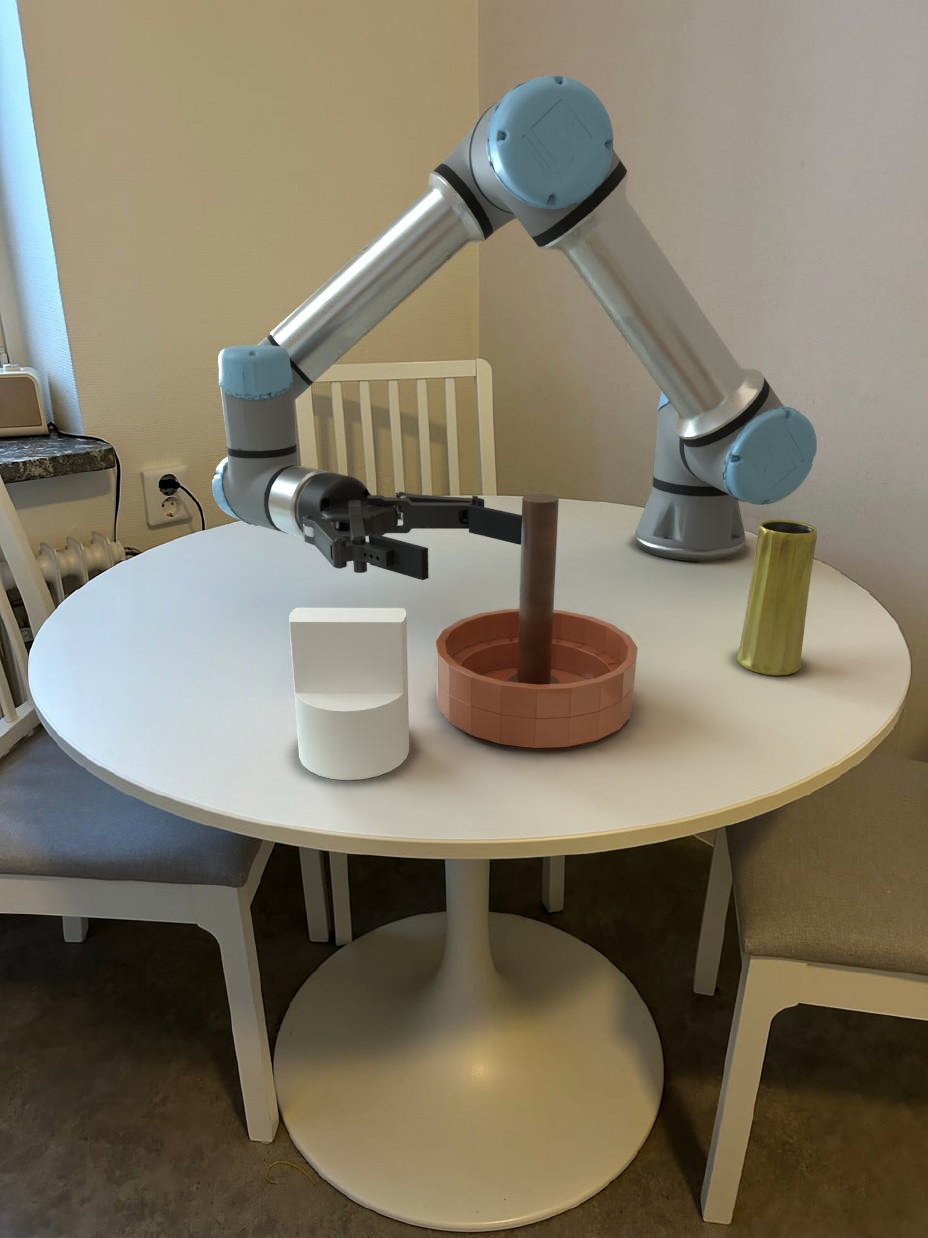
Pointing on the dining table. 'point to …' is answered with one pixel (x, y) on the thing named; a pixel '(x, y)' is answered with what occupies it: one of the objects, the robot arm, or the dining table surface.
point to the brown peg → (537, 589)
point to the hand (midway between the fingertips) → (477, 546)
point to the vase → (778, 598)
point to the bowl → (528, 713)
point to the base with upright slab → (350, 690)
